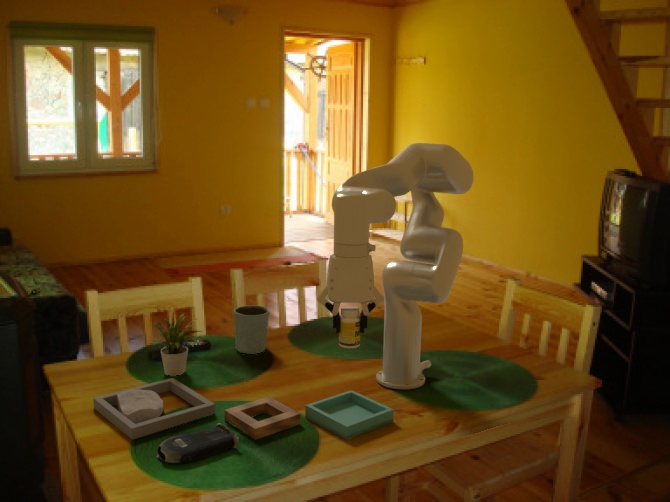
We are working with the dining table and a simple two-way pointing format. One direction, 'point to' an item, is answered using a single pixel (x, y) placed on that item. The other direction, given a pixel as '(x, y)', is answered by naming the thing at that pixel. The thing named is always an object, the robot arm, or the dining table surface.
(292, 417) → the square wooden frame
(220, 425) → the electronic device
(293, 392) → the dining table surface
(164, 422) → the gray rectangular frame
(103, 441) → the dining table surface
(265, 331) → the gray cup
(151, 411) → the stone block
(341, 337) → the supplement bottle
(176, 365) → the house plant
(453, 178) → the robot arm
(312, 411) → the tray
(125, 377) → the dining table surface
